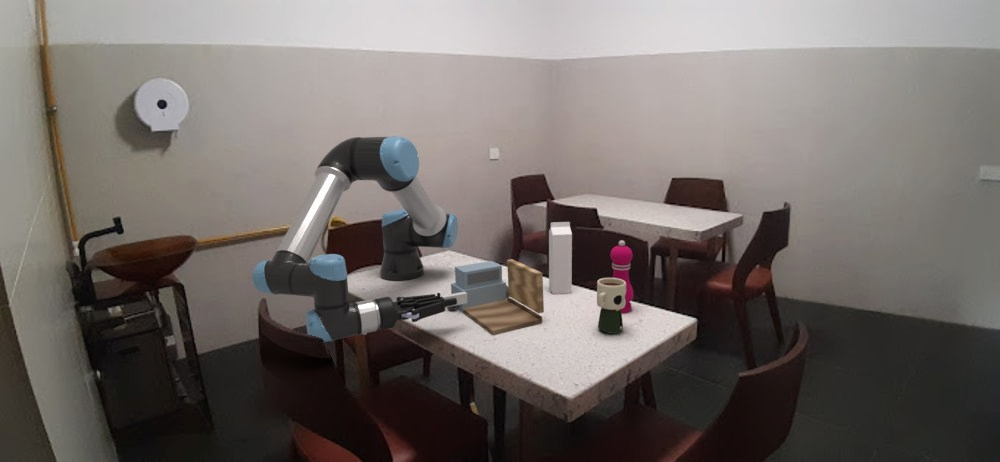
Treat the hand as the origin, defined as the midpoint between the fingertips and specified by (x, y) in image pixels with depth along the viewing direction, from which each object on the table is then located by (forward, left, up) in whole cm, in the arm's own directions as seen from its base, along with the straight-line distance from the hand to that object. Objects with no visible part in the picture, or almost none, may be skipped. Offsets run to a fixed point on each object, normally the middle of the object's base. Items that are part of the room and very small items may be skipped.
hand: (465, 297), depth 133 cm
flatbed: (-1, +11, -8) cm, 13 cm away
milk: (-11, +38, -9) cm, 40 cm away
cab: (-14, +11, -8) cm, 19 cm away
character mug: (+21, +31, -9) cm, 38 cm away
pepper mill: (+11, +43, -9) cm, 45 cm away
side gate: (-1, +18, -6) cm, 19 cm away
